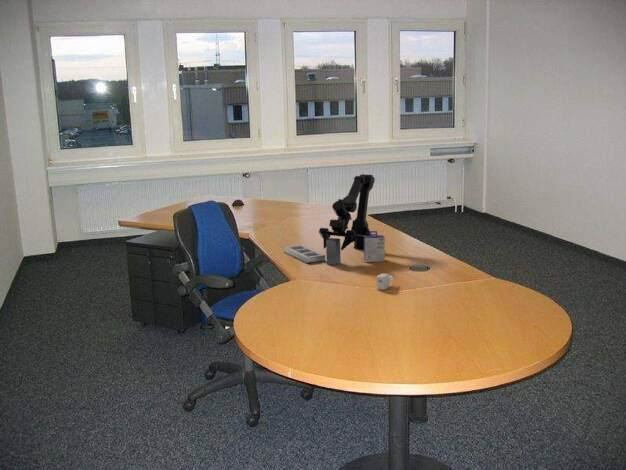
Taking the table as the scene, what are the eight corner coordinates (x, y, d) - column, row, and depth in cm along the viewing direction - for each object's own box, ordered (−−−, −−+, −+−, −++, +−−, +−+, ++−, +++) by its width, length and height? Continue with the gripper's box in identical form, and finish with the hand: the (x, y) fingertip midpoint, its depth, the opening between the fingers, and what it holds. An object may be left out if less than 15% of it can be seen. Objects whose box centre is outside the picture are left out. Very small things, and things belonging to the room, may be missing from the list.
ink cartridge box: (383, 258, 300) (383, 230, 297) (385, 261, 295) (385, 232, 292) (363, 259, 300) (363, 230, 297) (365, 262, 294) (364, 233, 291)
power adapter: (385, 282, 262) (385, 269, 260) (395, 283, 259) (396, 270, 258) (374, 289, 252) (374, 275, 251) (385, 291, 250) (385, 277, 249)
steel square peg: (331, 262, 297) (330, 237, 294) (340, 263, 295) (340, 238, 292) (326, 264, 293) (326, 240, 290) (336, 265, 290) (335, 241, 288)
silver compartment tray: (284, 252, 317) (284, 247, 316) (301, 250, 321) (301, 244, 321) (306, 263, 294) (306, 257, 294) (325, 261, 299) (324, 255, 298)
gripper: (320, 211, 297) (309, 238, 290) (355, 213, 288) (345, 241, 281) (327, 224, 305) (317, 250, 298) (361, 227, 297) (352, 254, 290)
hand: (332, 249), depth 292 cm, fingers open, 9 cm apart
